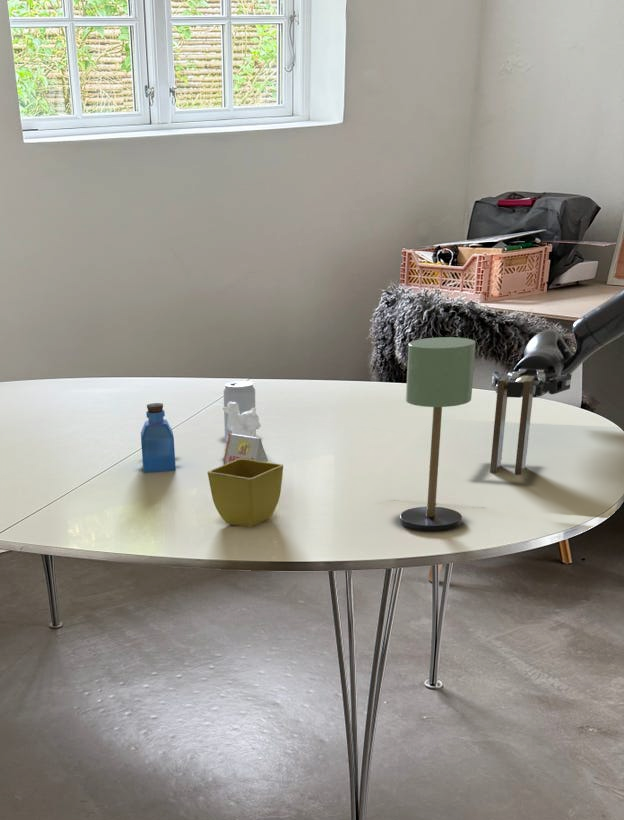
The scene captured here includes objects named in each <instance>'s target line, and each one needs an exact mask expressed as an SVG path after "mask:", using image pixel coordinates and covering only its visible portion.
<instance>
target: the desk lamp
mask: <svg viewBox="0 0 624 820" xmlns="http://www.w3.org/2000/svg"><path fill="white" fill-rule="evenodd" d="M476 345H477V344H476V341H475V340H474V339H471V338H466V337H453V336H452V337H451V336H444V337H443V336H441V337H440V336H439V337H427V338H420V339H415V340H412V341H410V342H409V343H408V349H407V369H406V370H407V371H406V387H405V388H406V390H405V402H406V403H407V404H409V405H413V406H418V407H425V408H426V407H427V408H433V409H432V423H431V424H432V425H431V437H430V438H431V439H430V457H429V471H428V485H427V486H428V488H427V502H426V503H427V504H426V506H417V507H412V508H407V509H406V510H404V511H402V512H401V513H400V514H399V524H400V525H401V526H402V527H404V528H406V529H408V530H411V531H416V532H424V533H440V532H447V531H448V532H449V531H453V530H455V529H457V528H459V527H460V526H461V525H462V521H463V520H462V519H463V516H462V514H461V513H460V512H459V511H456V510H454V509H452V508H447V507H442V506H437V490H438V476H439V462H440V461H439V460H440V446H441V429H442V415H443V413H442V412H443V408H447V407H448V408H449V407H456V406H462V405H466V404H468V403H470V402H471V401H472V394H473V381H474V369H475V358H476V357H475V356H476Z"/></svg>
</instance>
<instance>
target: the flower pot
mask: <svg viewBox="0 0 624 820" xmlns="http://www.w3.org/2000/svg"><path fill="white" fill-rule="evenodd" d="M283 473H284V464H282V463H281V464H280V463H275V462H269V461H268V462H260V461H254V460H248V459H237V460H235V461H232V462H230V463H228V464H225V465H224V464H223V465H219V466H217V467H215V468H213V469H210V470H207V477H208V483H209V487H210V493H211V498H212V502H213V504H214V507H215V510H216V511H217V513H218V514H219V516H220V518H221V519H222V520H223V521H224V523H225V524H227V525H232V526H237V527H241V526H242V527H247V528H253V527H255V526H257V525H259V524H261V523H264V522H267V521H269V520H270V518H271V517H272V515H273V514H274V512H275V510H276V508H277V506H278V503H279V500H280V496H281V493H282V491H281V490H282V482H283Z"/></svg>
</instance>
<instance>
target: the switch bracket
mask: <svg viewBox="0 0 624 820" xmlns="http://www.w3.org/2000/svg"><path fill="white" fill-rule="evenodd" d="M534 381H535V376H528V378H527V379H526V380H525V381H524V388H523V397H521V398H522V399H521V408H520V409H521V410H520V417H519V427H518V428H519V429H518V437H517V438H518V439H517V447H516V456H515V459H516V460H515V467H514V475H522V473H523V472H524V470H525V468H526V464H527V463H526V462H527V453H528V446H529V445H528V443H529V437H530V436H529V435H530V427H531V419H532V418H531V417H532V416H531V415H532V409H533V399H534V398H533V394H535V390H536V386H534ZM508 382H509V375H508V374H503V376H502V377H501V378H500V379H499V381H498V384H497V386H496V390H495V394H496V400H495V401H496V402H495V412H494V423H493V424H494V425H493V435H492V444H491V455H490V459H491V460H490V466H489V469H490V470H489V473H490V474H491V473H492V474H496V473H497V472H498V471H499V469H500V468H501V466H502V459H503V457H502V456H503V447H504V436H505V427H506V426H505V425H506V415H507V405H508V397H506V396H507V388H508Z"/></svg>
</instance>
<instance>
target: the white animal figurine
mask: <svg viewBox="0 0 624 820" xmlns="http://www.w3.org/2000/svg"><path fill="white" fill-rule="evenodd" d="M227 407H228V408H227ZM227 407H224V406H223V407H222V411H223V412H224V411H225V412H226V413H228V415H229V416H228V423H227V428H228V429H229V430H231V431H232V434H237V435H243V436H250V437H253V436H254V434H255V431H254V430H256V431H257V430H258V429H260V428H261V427H262V425H261V423H260V418H259V415H258V414H257V413H256V410H257V408H256V407H255V408H252V409H251V410H250V411H246V412H243V413H242V414H241V415H240V411H239V406H238V403H236V402H231V401H230V402H228V404H227ZM227 442H228V436H227V441H226V443H227Z"/></svg>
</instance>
